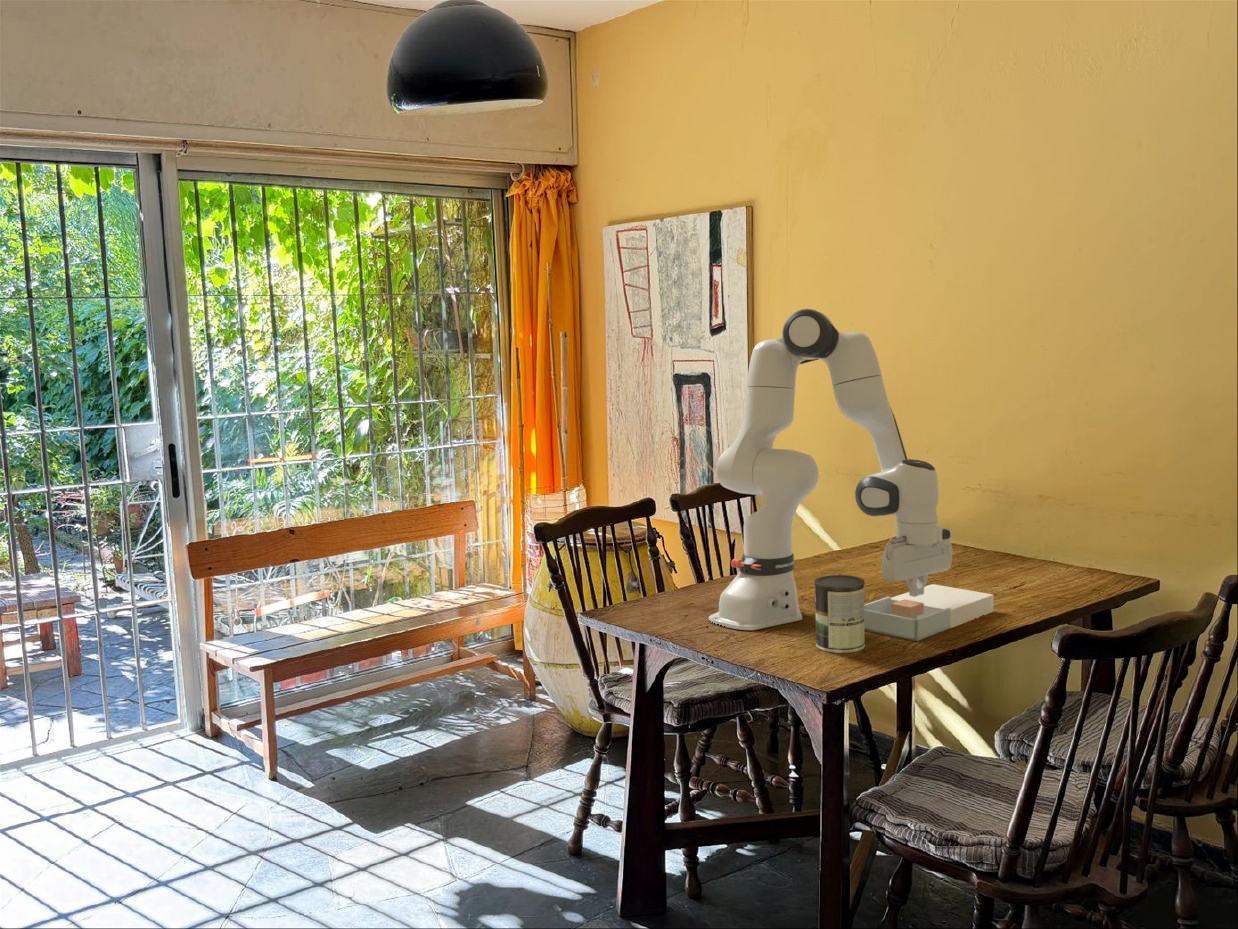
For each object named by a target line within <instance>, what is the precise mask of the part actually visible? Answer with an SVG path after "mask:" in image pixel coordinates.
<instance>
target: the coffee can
mask: <svg viewBox="0 0 1238 929" xmlns="http://www.w3.org/2000/svg"><path fill="white" fill-rule="evenodd" d="M865 581H866V580H864V579H863V578H861V577H859V576H854V575H846V574H845V575H842V574H838V575H837V574H833V575H824V576H820V577H817V578H816V579H814V581H813V583H814V595H815V596H814V604H815V647H816V648H817V649H818V650H820V649H821V650H820V651H822V650H823V652H826V651H827V652H828V653H833V654H850V653H856V652H859V651H863V649H865V647H866V645H865V630H864V605H865V584H866V582H865ZM827 652H826V653H827Z"/></svg>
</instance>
